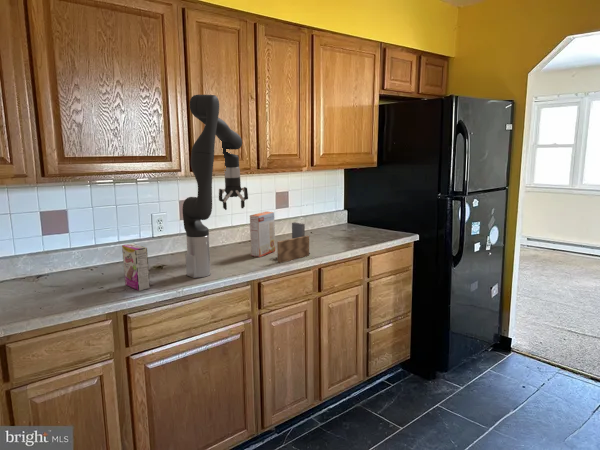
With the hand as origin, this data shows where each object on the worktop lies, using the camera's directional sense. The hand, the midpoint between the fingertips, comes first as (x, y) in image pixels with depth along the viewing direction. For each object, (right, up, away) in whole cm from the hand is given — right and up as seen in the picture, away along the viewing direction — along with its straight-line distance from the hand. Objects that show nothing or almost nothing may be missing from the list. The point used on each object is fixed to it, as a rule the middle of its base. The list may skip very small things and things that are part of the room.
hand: (234, 208), depth 213 cm
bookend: (+33, -23, +6) cm, 41 cm away
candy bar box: (-31, -32, -46) cm, 64 cm away
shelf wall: (+30, -24, -4) cm, 39 cm away
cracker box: (+14, -23, +6) cm, 28 cm away
